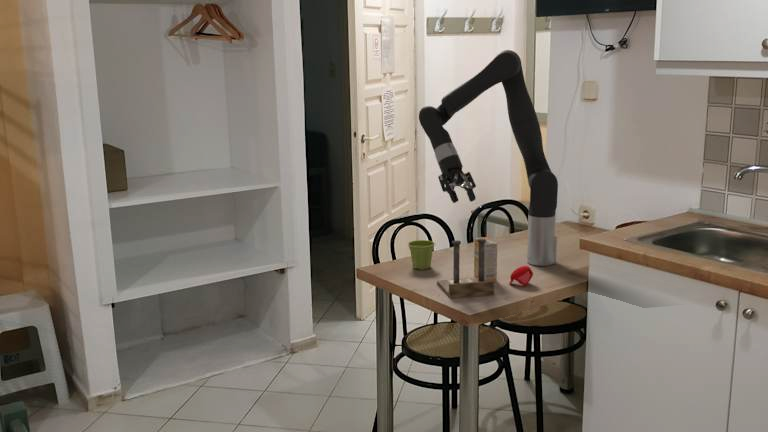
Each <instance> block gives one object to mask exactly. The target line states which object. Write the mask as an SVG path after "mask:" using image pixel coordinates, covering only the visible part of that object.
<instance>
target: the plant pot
mask: <svg viewBox="0 0 768 432" xmlns="http://www.w3.org/2000/svg"><path fill="white" fill-rule="evenodd" d="M435 245H436V242H434V241H433V240H428V239H427V240H423V239H419V240H412V241H411V240H410V241H409V242H407V246H408V247H409V248H408V249H409V251H410V256H411V262H412V264H411V265H412V268H413V269H418V270H421V271H422V270H428V269H431V265H432V257H433V250H434V246H435Z"/></svg>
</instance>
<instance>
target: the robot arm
mask: <svg viewBox="0 0 768 432" xmlns="http://www.w3.org/2000/svg"><path fill="white" fill-rule="evenodd" d="M500 83H501V84H502V87H503V89H504V94H505V98H506V107H507V114H508V121H509V123H510V126H511V131H512V134H513V137H514V139H515V142H516V144H517V147H518V149H519V151H520V153H521V156H522V159H523V162H524V166H525V170H526V178H527V183H528V186H529V189H530V190H529V191H530V192H529V196H530V197H529V206H528V214H527V215H528V217H527V218H528V221H527V256H526V259H527V260H526V263H527V264H529V265H531V266H537V267H538V266H540V267H541V266H542V267H545V266H552V265H555V264H557V253H558V252H557V247H558V246H557V245H558V238H557V236H556V211H557V207H558V192H559V191H558V189H559V185H558V184H559V181H558V179H557V176H556V175H555V173H553V171H552V170H551V168H550V166H549V163H548V161H547V158H546V155H545V150H544V146H543V136H542V130H541V125H540V121H539V119H538V115H537V113H536V109H535V107H534V104H533V101H532V99H531V96H530V93H529V91H528V88H527V86H526V82H525V76H524V71H523V66H522V60H521V58H520V56H519V54H518V53H516V52H515V51H514V50H510V49H506V50H503V51H500V52H498V53H496V55H495V56H494V57H493V59H492V60H491V61H490V62H489V63H487V65H486V66H485V67H484V68H483V69H482V70H480V71H479V72H478V73H477V74H475V75H474V76H473V77H471V78H470V79H468V80H466V81H465V82H463V83H461V84H460V85H458V86H457V87H455V88H454V89H453V90H451V91H449V92H448V93H447V94H446V95H444V96H443V97H442V98H441V103H440V105H439V106H437V107H434V106H433V105H432V106H431V105H426V106H423V107H422V108H421V109H420V110H419V113H418V120H419V124H420V126H421V127H422V129H423V130H424V133H425V134H426V136H427V138H428V139H429V142H430V144H431V146H432V147H431V148H432V149H433V152H434V156H435V160H436V162H437V165H438V167H439V169H440V171H441V174H440V175H438V176H437V177H438V181H439V184H440V187H441V189H442V192H443V193H445V192H446V193H447V194H448V195H449V197H450V200H451V202H452V203H453V204H455V203H457V202H459V198H458V195H457V193H456V190H455V187H460V188H461V189H464V191H465V192H466V195H467V198H468V200H469V202H474V201H476V194H475V193H474V188H475V189H476V187H477V185H476V182H475V180H474V178H473V176H472V174H471V172H470V171H467V172H465V173H464V171H463V167H464V165H463V163H462V161H461V158H460V156H459V154H458V151H457V148H456V147H455V144H454V143H453V140H452V138H451V135H450V133H449V132H448V130H447V129H445V128H444V125H446V124H447V123H448V122H449V120H451V119H452V118H453V116H454V115H455V114H456V113H457V112H459V111H461V110H462V109H464V108H466V107H467V106H468V105H470V104H471V103H472V102H474V100H475V99H477V98H478V97H479V96H481V95H482V94H483V93H484V92H486V91H487V90H489V89H490V88H492V87H494V86H496V85H498V84H500Z"/></svg>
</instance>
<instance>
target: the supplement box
mask: <svg viewBox="0 0 768 432" xmlns="http://www.w3.org/2000/svg"><path fill="white" fill-rule="evenodd" d="M478 239H486V242H485V250H484V281H492V280H493V281H494V282H497V280H498V276H497V275H498V272H497V271H498V242H496V241H494V240H492V239H491V238H489V237H488V236H484V237H475V238H474V246H473V248H474V251H473V253H474V254H473V255H474V256H473V261H474V262H473V275H474V276H475V278H477V277H478V260H479V242H477V240H478Z"/></svg>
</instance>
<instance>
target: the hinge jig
mask: <svg viewBox="0 0 768 432" xmlns="http://www.w3.org/2000/svg"><path fill="white" fill-rule="evenodd" d="M477 242H479V260H478V277H466V278H460V247H461V246H460V245H461V244H462V241H461V240H452V244H453V273H452V274H453V279H441V280H439V279H438V280H436V285H437V286H438V288H440V289H441V290H442V291H443V292H444V294H445V295H446V296H447V297H448V298H449V299H462V298H461V297H463V298H473V296H475V297H486V296H485V295H488V296H495V290H494V289H495V281H493V280H492V281H484V250H485V242H486V239H478V240H477Z"/></svg>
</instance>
